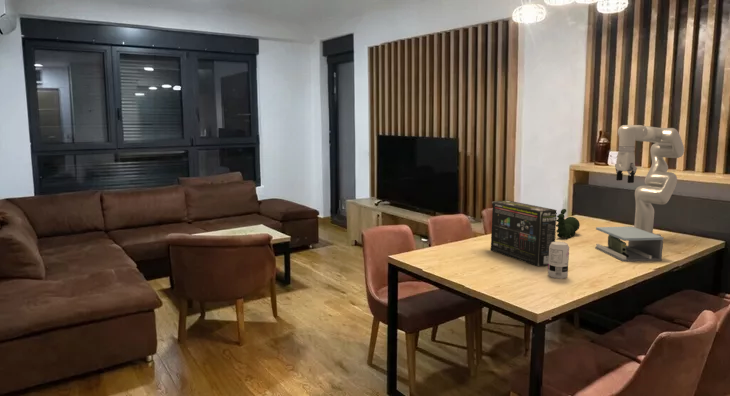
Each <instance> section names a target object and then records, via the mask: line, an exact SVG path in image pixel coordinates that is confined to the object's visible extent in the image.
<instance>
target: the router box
mask: <svg viewBox="0 0 730 396" xmlns="http://www.w3.org/2000/svg"><path fill="white" fill-rule="evenodd" d="M491 204H492V215H491V216H492V217H491V232H490V233H491V236H490V237H491V238H490V239H491V241H490V251H492V252H494V253H497V254H500V255H503V256H506V257H509V258H512V259H516V260H518V261H521V262H524V263H527V264H530V265H533V266H535V267H542V266H548V262H549V246H550V244H551V242H556V237H557V232H556V229H557V227H556V225H557V221H556V220H558V217H557V216H558V215H557V214H558V212H557V209H553V208H548V207H542V206H538V205H533V204H528V203H524V202H523V203H522V202H518V201H517V202H516V201H512V200H502V201H501V200H499V201H498V200H497V201H492V202H491Z"/></svg>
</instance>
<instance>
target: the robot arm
mask: <svg viewBox="0 0 730 396" xmlns="http://www.w3.org/2000/svg"><path fill="white" fill-rule="evenodd" d="M617 135H618V139H619V141H618V152H617V154H616V162H615V164H614V167H615V173H616V178H615V179H616V181H623V177H624V175H623V174H624V173H623V172H627V173H628V175H627V184H634V181H635V175H636V172H637V170H638V167H637V166H636V156H635V151H636V150H635V147H636V141H637V142H646V143H653V144H652V145H651V146H650V158H651V166H650V168H649V170H648V171H647V174H646V175H645V179H644V185H639V186H637V187H636V188H635V190H634V199H635V213H634V225H633V227H635V228H638V229H641V230H644V231H646V232H649V233H652V234H655V235H658V236H661V235H662V234H660V233H654V221H655V219H654V218H655V208H654V206H653V204H655V205H667V203H668V202H669V200H670V199H671V197H672V195H673V193H674V191H675V189H676V186H677V183H678V177H677V175H676V173H674V172H671V171H668V170H669V165H668V163H667V161H666V160H665V159H664V158H666V159H667V158H668V159H669V158H671V159H679V158H682V157H683V155H684V153H685V145H684V144H683V143H684V142H683V140H682V137H681V135H680V133H679V131H678V129H676V128H674V127H656V126H650V125H649V126H648V125H646V126H645V125H641V124H623V125H620V126H619V128H618V129H617ZM661 237H662V236H661Z"/></svg>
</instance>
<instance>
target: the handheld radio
mask: <svg viewBox="0 0 730 396" xmlns="http://www.w3.org/2000/svg"><path fill="white" fill-rule="evenodd" d="M626 245H627V243H626V242H625V241H623V240H621V239H618V238H616V237H613V236H611V235H608V236H607V246H609V247H610V248H611V249H613V250H614V251H616V252H617V253H620V254H622V255H624V256H626V257H629V255H627V254H626Z"/></svg>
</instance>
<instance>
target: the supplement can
mask: <svg viewBox="0 0 730 396" xmlns="http://www.w3.org/2000/svg"><path fill="white" fill-rule="evenodd" d="M569 255H570V246H569V243H567V242H564V241H555V242H551V244H550V246H549V262H548V265H547V266H548V267H547V276H548V277H551V278H552V279H560V280H561V279H562V280H563V279H566V278H568V275H569V274H568V272H569V260H570V259H569V257H570V256H569Z"/></svg>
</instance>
